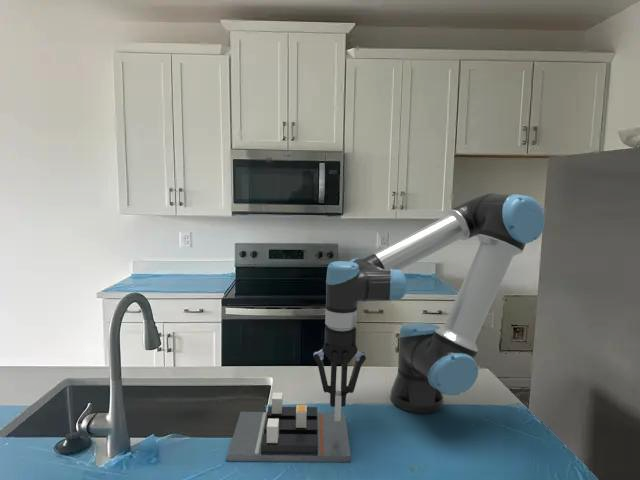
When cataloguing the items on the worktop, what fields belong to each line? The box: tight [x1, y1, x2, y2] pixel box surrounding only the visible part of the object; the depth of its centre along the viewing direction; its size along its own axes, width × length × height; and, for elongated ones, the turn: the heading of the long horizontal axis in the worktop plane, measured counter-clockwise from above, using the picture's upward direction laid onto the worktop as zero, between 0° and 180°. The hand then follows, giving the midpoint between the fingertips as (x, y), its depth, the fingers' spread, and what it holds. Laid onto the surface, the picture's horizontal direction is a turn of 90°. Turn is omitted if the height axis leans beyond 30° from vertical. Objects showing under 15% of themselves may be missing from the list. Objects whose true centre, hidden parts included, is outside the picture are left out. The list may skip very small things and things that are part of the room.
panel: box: [226, 405, 352, 463], centre depth 110 cm, size 28×19×4 cm
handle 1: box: [271, 392, 284, 414], centre depth 116 cm, size 2×4×4 cm
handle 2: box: [267, 418, 279, 443], centre depth 103 cm, size 2×4×4 cm
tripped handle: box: [295, 404, 308, 428], centre depth 109 cm, size 2×4×4 cm
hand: (337, 418), depth 110 cm, fingers closed
